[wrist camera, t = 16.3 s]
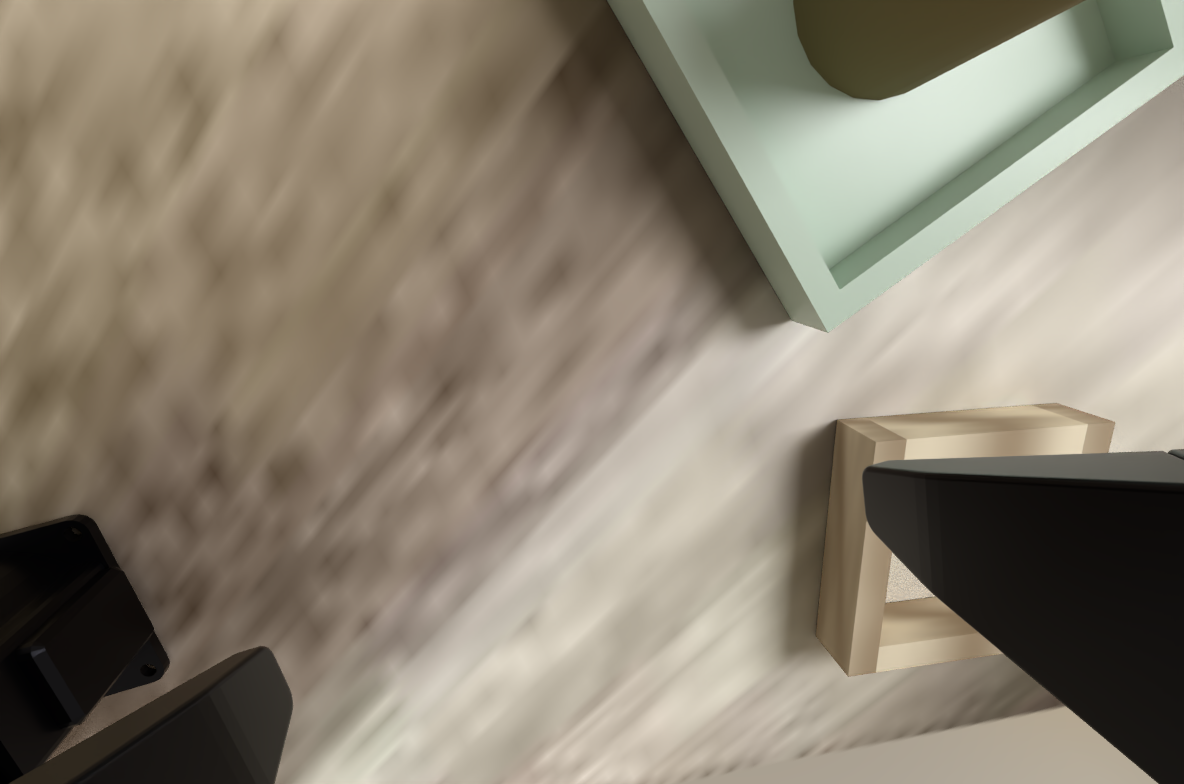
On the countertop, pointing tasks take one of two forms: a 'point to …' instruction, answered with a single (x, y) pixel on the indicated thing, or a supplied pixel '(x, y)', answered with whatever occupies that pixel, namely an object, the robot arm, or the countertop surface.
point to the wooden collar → (862, 561)
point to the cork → (907, 38)
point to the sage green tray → (886, 133)
